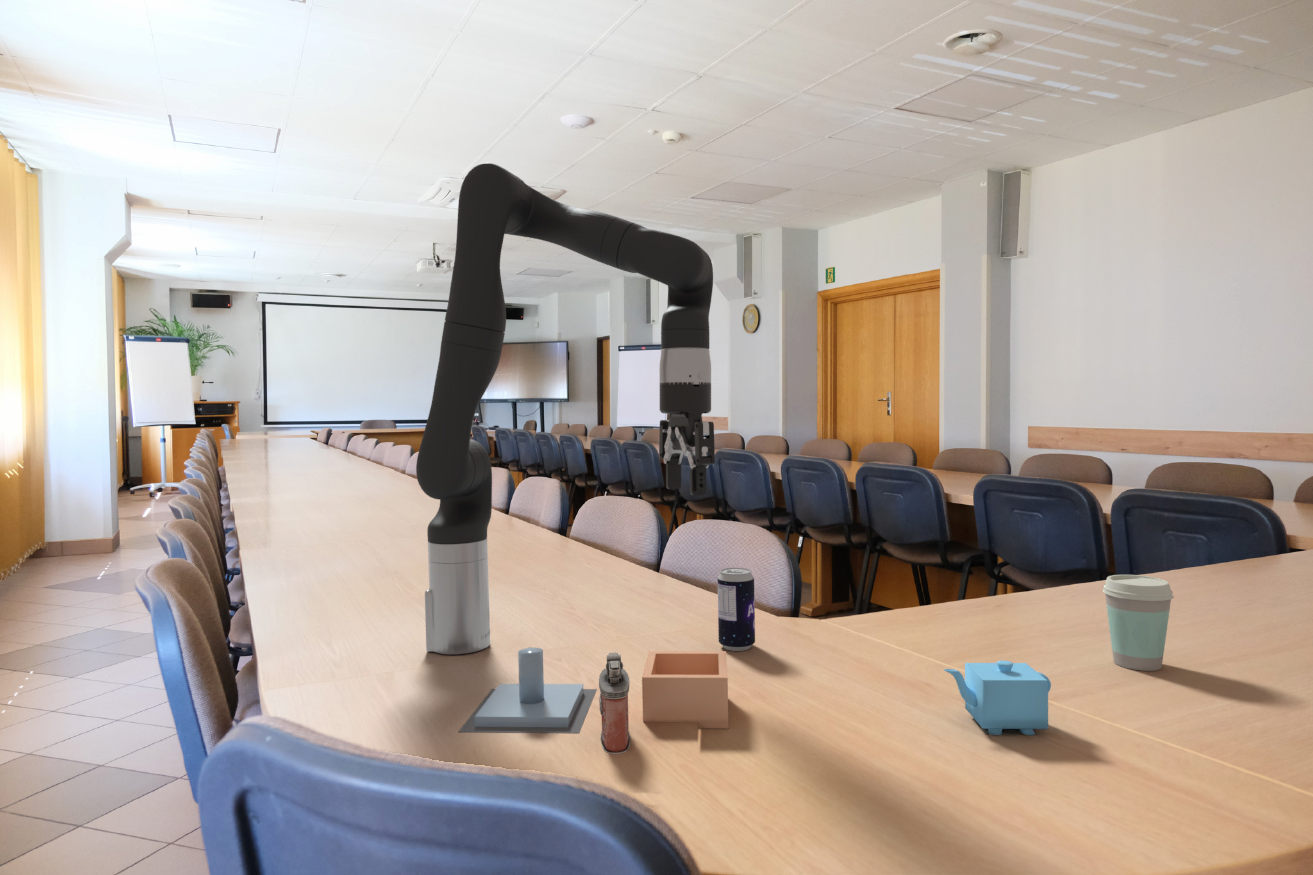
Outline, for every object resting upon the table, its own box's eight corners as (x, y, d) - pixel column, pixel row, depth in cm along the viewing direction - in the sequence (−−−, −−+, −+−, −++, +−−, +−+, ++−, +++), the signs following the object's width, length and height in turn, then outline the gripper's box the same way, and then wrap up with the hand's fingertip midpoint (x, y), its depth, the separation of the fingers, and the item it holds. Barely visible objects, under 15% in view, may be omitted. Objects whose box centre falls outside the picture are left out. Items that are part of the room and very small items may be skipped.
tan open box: (643, 727, 93) (641, 677, 92) (649, 696, 103) (648, 651, 102) (728, 728, 92) (727, 677, 92) (726, 697, 102) (726, 651, 102)
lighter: (600, 731, 92) (597, 646, 92) (628, 729, 92) (627, 645, 92) (601, 761, 84) (598, 669, 84) (632, 760, 84) (630, 667, 84)
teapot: (952, 736, 89) (951, 670, 88) (936, 715, 95) (936, 653, 94) (1062, 737, 88) (1062, 670, 88) (1039, 716, 94) (1039, 653, 94)
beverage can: (753, 653, 120) (752, 574, 120) (716, 651, 121) (715, 574, 121) (756, 642, 125) (755, 567, 125) (721, 640, 127) (719, 566, 126)
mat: (458, 738, 91) (458, 731, 91) (492, 694, 105) (492, 688, 105) (579, 739, 90) (578, 732, 90) (596, 695, 104) (596, 689, 104)
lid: (474, 726, 92) (473, 665, 92) (500, 692, 103) (498, 638, 103) (568, 727, 91) (566, 665, 91) (583, 693, 102) (582, 638, 102)
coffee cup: (1163, 657, 114) (1163, 575, 114) (1181, 677, 106) (1181, 588, 106) (1096, 652, 117) (1097, 572, 116) (1109, 671, 109) (1109, 585, 108)
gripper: (643, 382, 120) (643, 488, 121) (682, 379, 107) (682, 498, 107) (688, 382, 123) (688, 486, 123) (731, 379, 110) (731, 495, 110)
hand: (685, 491), depth 115 cm, fingers open, 8 cm apart
